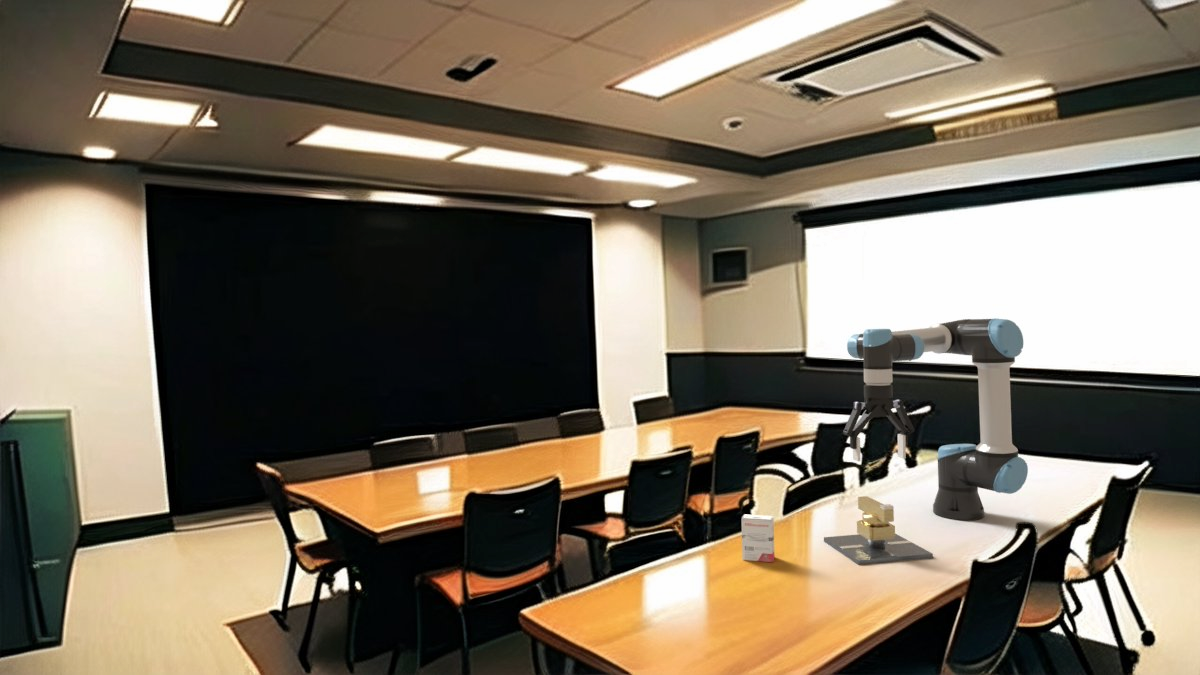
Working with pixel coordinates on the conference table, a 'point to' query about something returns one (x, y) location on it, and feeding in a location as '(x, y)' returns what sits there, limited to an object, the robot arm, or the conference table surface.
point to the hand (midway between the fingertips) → (879, 459)
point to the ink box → (757, 538)
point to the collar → (875, 519)
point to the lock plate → (877, 549)
